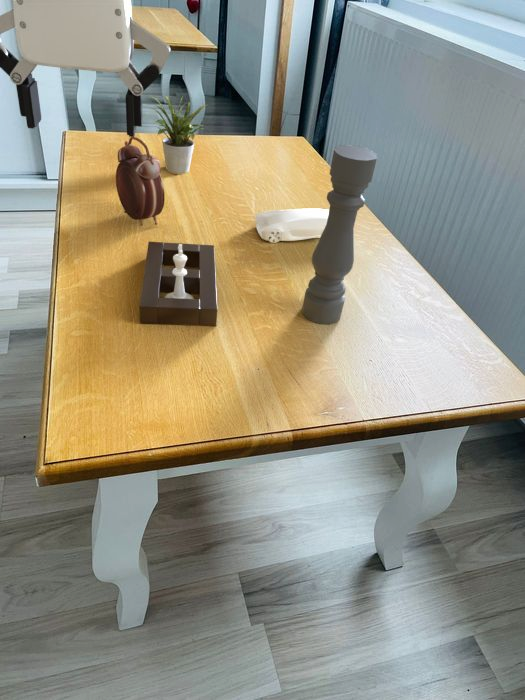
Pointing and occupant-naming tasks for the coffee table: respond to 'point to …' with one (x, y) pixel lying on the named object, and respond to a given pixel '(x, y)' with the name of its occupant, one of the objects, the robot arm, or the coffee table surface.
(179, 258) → the chess piece
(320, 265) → the candle holder
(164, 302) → the socket block
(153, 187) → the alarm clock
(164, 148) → the house plant
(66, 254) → the coffee table surface
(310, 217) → the toy car
